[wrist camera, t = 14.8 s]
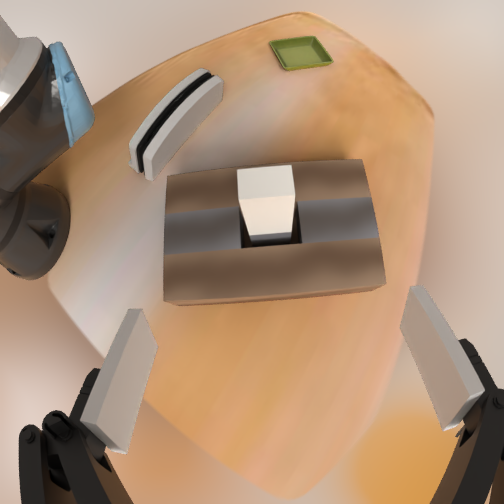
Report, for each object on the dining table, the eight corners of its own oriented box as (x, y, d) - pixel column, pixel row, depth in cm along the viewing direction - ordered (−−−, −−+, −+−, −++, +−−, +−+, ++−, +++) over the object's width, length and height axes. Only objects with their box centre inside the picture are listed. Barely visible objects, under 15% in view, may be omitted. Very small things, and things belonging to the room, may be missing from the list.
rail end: (289, 246, 33) (295, 195, 21) (253, 249, 34) (238, 199, 21) (287, 225, 34) (291, 164, 21) (252, 228, 34) (237, 169, 22)
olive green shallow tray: (268, 49, 44) (268, 40, 42) (314, 43, 44) (314, 35, 42) (284, 77, 42) (283, 68, 40) (333, 70, 42) (334, 61, 40)
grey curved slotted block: (197, 90, 42) (202, 51, 33) (221, 104, 43) (230, 66, 33) (128, 168, 39) (112, 140, 30) (153, 186, 40) (143, 160, 30)
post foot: (371, 290, 32) (386, 283, 27) (179, 305, 34) (163, 301, 29) (353, 179, 36) (362, 159, 31) (180, 194, 37) (167, 175, 33)
